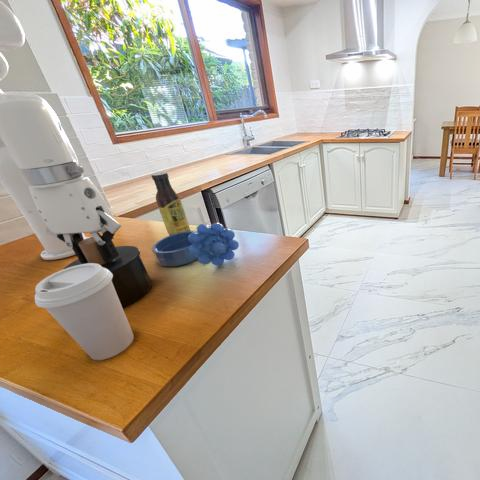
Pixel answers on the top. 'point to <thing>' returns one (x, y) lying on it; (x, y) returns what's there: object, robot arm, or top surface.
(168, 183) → the sauce bottle
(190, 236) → the blue flower toy
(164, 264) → the blue round dish
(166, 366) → the top surface
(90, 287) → the coffee cup
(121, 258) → the lid
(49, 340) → the top surface
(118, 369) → the top surface
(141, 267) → the pot
